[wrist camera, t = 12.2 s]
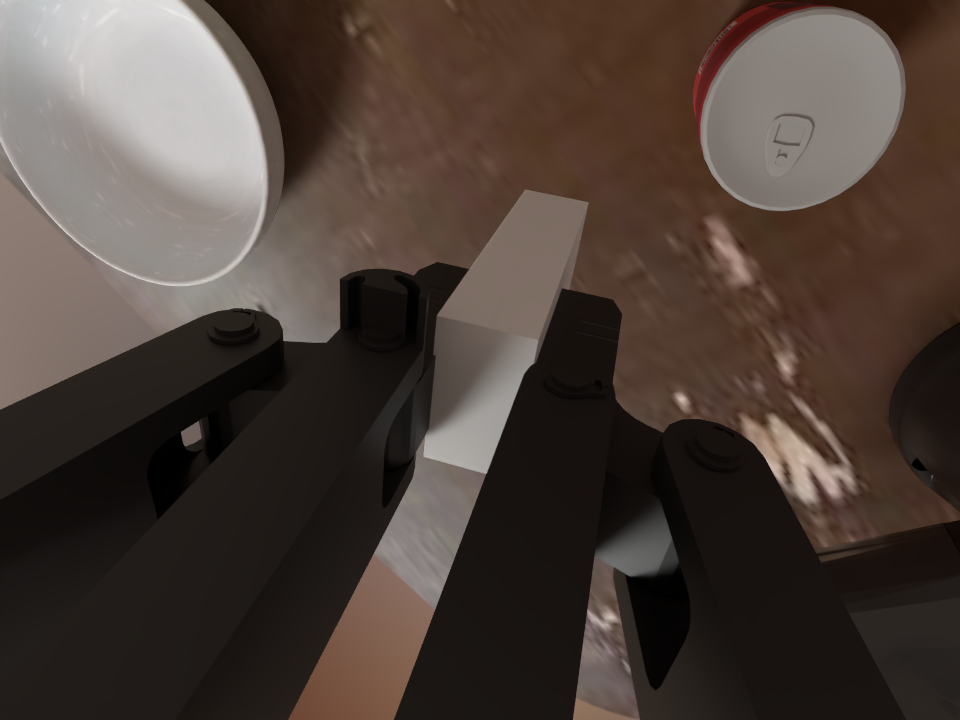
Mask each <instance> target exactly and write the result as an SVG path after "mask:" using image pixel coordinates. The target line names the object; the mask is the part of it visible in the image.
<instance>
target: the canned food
mask: <svg viewBox="0 0 960 720" xmlns="http://www.w3.org/2000/svg"><path fill="white" fill-rule="evenodd" d="M905 91H906V86H905V74H904V67H903V64H902V61H901V58H900V55H899V52H898V50H897V48H896V47H895V45H894V44H893V42H892V41H891V39H890V38H889V36H888V35H887V34H886V33H885V32H884V31H883V30H882V29H881V28H880V27H878V26H877V25H876V24H875V23H874V22H873V21H872V20H870V19H868V18H866V17H864V16H862V15H860V14H858V13H856V12H854V11H851V10H847V9H843V8H838V7H834V6H829V5H820V4H810V3H800V2H774V3H770V4H765V5H761V6H759V7H756V8H754V9H752V10H750V11H747V12H745V13H744V14H742V15H741V16H739V17H738V18H736V19H735V20H733V21H732V22H730V23H729V24H728V25H727V26H726V27H725V28H724V29H723V30H722V31H721V32H720V33H719V34H718V35H717V37H716V38H715V39H714V40H713V42H712V43H711V44H710V46H709V47H708V49H707V51H706V53H705V54H704V56H703V58H702V60H701V62H700V65H699V68H698V71H697V74H696V77H695V83H694V89H693V107H694V112H695V118H696V123H697V128H698V133H699V138H700V143H701V147H702V152H703V154H704V158H705V160H706V163H707V165H708V167H709V169H710V171H711V173H712V175H713V176H714V177H715V178H716V180H717V181H718V182H719V184H720V185H721V186H722V187H723V188H724V189H725V190H726V191H727V192H729V193H730V194H731V195H732V196H733V197H735V198H736V199H738V200H740V201H742V202H744V203H746V204H748V205H750V206H753V207H757V208H761V209H765V210H777V211H788V210H795V209H803V208H806V207H810V206H813V205H816V204H819V203H822V202H824V201H826V200H828V199H830V198H832V197H834V196H836V195H839V194H840V193H842V192H843V191H845V190H846V189H848V188H849V187H850V186H852V185H853V184H855V183H856V182H857V181H858V180H860V179H861V178H862V177H863V176H864V175H865V174H866V173H867V172H868V171H869V170H870V169H871V168H872V167H873V166H874V165H875V163H876V162H877V161H878V159H879V158H880V157H881V155H882V154H883V153H884V152H885V150H886V149H887V147H888V145H889V143H890V141H891V139H892V137H893V136H894V134H895V132H896V130H897V127H898V124H899V121H900V118H901V115H902V112H903V107H904V99H905Z"/></svg>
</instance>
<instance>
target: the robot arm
mask: <svg viewBox="0 0 960 720" xmlns="http://www.w3.org/2000/svg"><path fill="white" fill-rule="evenodd" d="M588 204H589V202H584V201H579V200H574V199H569V198H564V197H559V196H555V195H550V194H545V193H540V192H535V191H530V190H525V191H524V192H523V194H522V195H521V196H520V198H519V199H518V201H517V202H516V204H515V205H514V206H513V208H512V209H511V211H510V212H509V214H508V215H507V216H506V218H505V219H504V221H503V222H502V223H501V225H500V226H499V228H498V229H497V231H496V232H495V233H494V235H493V236H492V238H491V239H490V241H489V242H488V243H487V245H486V246H485V248H484V249H483V251H482V252H481V253H480V255H479V256H478V258H477V259H476V261H475V262H474V263H473V265H472V266H471V268H470V269H466V268H461V267H457V266H453V265H448V264H444V263H439V262H437V263H434V264H432V265H430V266H427V267H425V268H422V269H420V270H419V271H418V272H417V273H416V274H415V275H414V276H413V275H410V274H407V273H404V272H401V271H396V270H388V269H365V270H361V271H357V272H352V273H350V274H348V275H346V276H344V277H343V278H341V279H340V329H339V330H338V331H337V332H336V333H335V334H334V336H333V337H332V338H331V339H330V340H329V341H328V342H327V343H307V342H288V341H283V329H282V327H281V325H280V323H279V321H278V320H277V319H275V318H274V317H272V316H271V315H269V314H266V313H263V312H259V311H256V310H251V309H243V308H234V309H230V310H223V311H217V312H214V313H211V314H208V315H205V316H202V317H200V318H197V319H195V320H193V321H191V322H189V323H187V324H184V325H182V326H180V327H178V328H176V329H174V330H171V331H169V332H167V333H165V334H163V335H161V336H159V337H156V338H154V339H152V340H150V341H148V342H146V343H143V344H141V345H139V346H137V347H135V348H133V349H130V350H129V351H126V352H124V353H122V354H120V355H118V356H115V357H113V358H111V359H109V360H107V361H105V362H103V363H100V364H98V365H96V366H94V367H92V368H89V369H88V370H85V371H83V372H81V373H79V374H76V375H74V376H72V377H70V378H68V379H66V380H64V381H61V382H60V383H57V384H55V385H53V386H51V387H49V388H46V389H44V390H42V391H40V392H38V393H35V394H33V395H31V396H29V397H27V398H25V399H23V400H21V401H18V402H16V403H14V404H12V405H10V406H7V407H5V408H3V409H1V410H0V720H288V719H289V717H290V715H291V713H292V711H293V709H294V707H295V705H296V703H297V702H298V699H299V698H300V696H301V694H302V692H303V690H304V688H305V686H306V684H307V682H308V680H309V678H310V676H311V674H312V672H313V670H314V668H315V666H316V665H317V663H318V661H319V659H320V657H321V655H322V653H323V651H324V649H325V647H326V645H327V643H328V641H329V639H330V637H331V635H332V634H333V632H334V629H335V627H336V626H337V624H338V622H339V620H340V618H341V616H342V614H343V612H344V610H345V608H346V606H347V604H348V602H349V600H350V599H351V597H352V595H353V593H354V591H355V589H356V587H357V585H358V583H359V581H360V579H361V577H362V575H363V573H364V571H365V569H366V567H367V566H368V564H369V561H370V560H371V558H372V556H373V554H374V552H375V550H376V548H377V546H378V544H379V542H380V540H381V538H382V536H383V534H384V532H385V531H386V529H387V527H388V525H389V523H390V521H391V519H392V517H393V515H394V513H395V511H396V509H397V507H398V505H399V503H400V501H401V499H402V498H403V496H404V494H405V492H406V490H407V488H408V486H409V484H410V482H411V480H412V478H413V474H414V469H415V460H416V451H417V449H418V447H419V446H420V444H421V442H422V440H423V438H424V436H425V434H426V437H425V447H424V457H427V458H431V459H434V460H438V461H442V462H445V463H449V464H452V465H456V466H460V467H463V468H467V469H470V470H474V471H478V472H481V473H485V474H486V476H485V479H484V482H483V484H482V487H481V490H480V492H479V495H478V498H477V500H476V503H475V506H474V508H473V511H472V514H471V516H470V519H469V522H468V524H467V527H466V530H465V532H464V535H463V538H462V540H461V543H460V546H459V548H458V551H457V554H456V556H455V559H454V561H453V564H452V567H451V569H450V572H449V575H448V577H447V580H446V583H445V585H444V588H443V591H442V593H441V596H440V599H439V601H438V604H437V607H436V609H435V612H434V615H433V617H432V620H431V623H430V625H429V628H428V631H427V633H426V636H425V639H424V641H423V644H422V647H421V649H420V652H419V655H418V657H417V660H416V662H415V665H414V668H413V670H412V673H411V676H410V678H409V681H408V684H407V686H406V689H405V692H404V695H403V697H402V700H401V702H400V705H399V708H398V710H397V713H396V716H395V718H394V720H573V714H574V706H575V699H576V691H577V684H578V676H579V669H580V661H581V653H582V646H583V638H584V631H585V623H586V616H587V608H588V601H589V593H590V585H591V578H592V570H593V563H594V555H595V556H596V557H598V558H600V559H601V560H603V561H605V562H606V563H608V564H610V565H611V566H613V567H614V571H613V579H614V585H615V590H616V595H617V601H618V606H619V611H620V616H621V622H622V627H623V632H624V637H625V643H626V648H627V653H628V658H629V664H630V669H631V674H632V679H633V685H634V690H635V695H636V701H637V706H638V711H639V716H640V720H960V520H958V521H953V522H948V523H941V524H936V525H931V526H926V527H922V528H917V529H912V530H907V531H902V532H897V533H892V534H887V535H883V536H878V537H873V538H868V539H863V540H858V541H853V542H848V543H844V544H839V545H834V546H829V547H824V548H819V549H814V548H813V546H812V544H811V543H810V541H809V539H808V537H807V535H806V533H805V531H804V530H803V528H802V526H801V524H800V522H799V520H798V519H797V517H796V515H795V513H794V511H793V509H792V507H791V506H790V504H789V502H788V500H787V498H786V496H785V495H784V493H783V491H782V489H781V487H780V485H779V483H778V482H777V480H776V478H775V476H774V474H773V472H772V471H771V469H770V467H769V465H768V463H767V461H766V459H765V458H764V456H763V455H762V454H761V452H760V451H759V450H758V449H757V447H756V446H755V445H754V444H753V443H752V442H750V441H749V440H748V439H746V438H745V437H744V436H742V435H741V434H739V433H738V432H736V431H734V430H732V429H730V428H728V427H725V426H724V425H721V424H719V423H714V422H710V421H705V420H701V419H682V420H680V421H677V422H675V423H672V424H670V425H669V426H668V427H667V429H666V430H665V431H664V433H662V432H660V431H658V430H656V429H654V428H652V427H650V426H648V425H646V424H644V423H642V422H640V421H639V420H637V419H635V418H634V417H632V416H631V415H630V414H629V413H627V412H626V411H625V410H624V409H623V408H622V407H621V406H620V404H619V403H618V402H617V401H616V399H615V391H614V386H613V385H612V383H613V376H614V369H615V361H616V354H617V347H618V340H619V333H620V325H621V318H622V313H621V312H620V310H619V309H618V307H617V305H616V304H615V302H614V301H613V300H612V299H608V298H603V297H599V296H595V295H590V294H586V293H581V292H577V291H572V290H569V288H570V284H571V279H572V275H573V270H574V266H575V261H576V257H577V252H578V248H579V244H580V239H581V235H582V230H583V226H584V221H585V217H586V212H587V208H588ZM198 421H199V424H200V430H201V436H202V439H200V440H199V441H197V442H196V443H193V444H191V445H189V446H186V447H185V446H184V444H183V441H182V436H181V431H183V430H185V429H186V428H188V427H189V426H191V425H193V424H194V423H196V422H198ZM889 421H890V428H891V432H892V435H893V437H894V440H895V442H896V444H897V446H898V448H899V450H900V452H901V454H902V456H903V458H904V459H905V461H906V463H907V464H908V466H909V467H910V469H911V470H912V471H913V472H914V473H915V475H916V476H917V477H918V478H919V479H920V480H921V481H922V482H923V483H924V484H926V485H927V486H928V487H929V488H931V489H932V490H933V491H934V492H936V493H937V494H938V495H939V496H941V497H942V498H943V499H944V500H946V501H947V502H948V503H950V504H951V505H952V506H953V507H955V508H956V509H957V510H958V511H960V324H959V325H957V326H955V327H954V328H952V329H950V330H948V331H947V332H945V333H944V334H942V335H941V336H939V337H938V338H937V339H935V340H934V341H933V342H931V343H930V344H929V345H928V346H927V347H925V348H924V349H923V350H922V351H921V352H920V353H919V354H918V355H917V356H916V357H915V358H914V359H913V360H912V361H911V363H910V364H909V365H908V366H907V368H906V369H905V370H904V372H903V374H902V375H901V377H900V378H899V380H898V382H897V384H896V386H895V389H894V391H893V394H892V397H891V402H890V408H889Z"/></svg>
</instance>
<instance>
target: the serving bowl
mask: <svg viewBox="0 0 960 720" xmlns="http://www.w3.org/2000/svg"><path fill="white" fill-rule="evenodd" d="M0 142H1V144H2V146H3V148H4V150H5V152H6V154H7V156H8V158H9V160H10V161H11V163H12V165H13V167H14V168H15V170H16V171H17V173H18V175H19V176H20V178H21V179H22V181H23V183H24V184H25V185H26V187H27V188H28V190H29V191H30V192H31V194H32V195H33V196H34V198H35V199H36V200H37V201H38V203H39V204H40V205H41V206H42V207H43V209H44V210H45V211H46V212H47V214H48V215H49V216H50V217H51V218H52V219H53V220H54V221H55V222H56V223H57V224H58V225H59V226H60V227H61V228H62V229H63V230H64V231H65V232H66V233H67V234H68V235H69V236H70V237H71V238H73V239H74V240H75V241H76V242H77V243H78V244H79V245H81V246H82V247H83V248H85V249H86V250H87V251H89V252H90V253H91V254H93V255H94V256H96V257H97V258H99V259H100V260H102V261H103V262H105V263H107V264H109V265H110V266H112V267H114V268H116V269H118V270H120V271H122V272H124V273H126V274H129V275H131V276H133V277H136V278H139V279H142V280H145V281H148V282H152V283H157V284H161V285H168V286H191V285H198V284H202V283H206V282H209V281H212V280H215V279H217V278H219V277H221V276H223V275H225V274H227V273H228V272H230V271H231V270H233V269H234V268H235V267H237V266H238V265H239V264H240V263H241V262H242V261H243V260H244V259H245V258H246V257H247V256H248V255H249V254H250V253H251V252H252V251H253V250H254V249H255V247H256V246H257V245H258V244H259V243H260V241H261V240H262V238H263V237H264V235H265V234H266V232H267V230H268V229H269V227H270V225H271V223H272V221H273V218H274V216H275V214H276V211H277V208H278V205H279V201H280V197H281V193H282V188H283V179H284V147H283V139H282V132H281V127H280V123H279V119H278V115H277V112H276V108H275V105H274V102H273V99H272V96H271V94H270V91H269V89H268V87H267V84H266V82H265V80H264V78H263V76H262V74H261V72H260V70H259V68H258V66H257V65H256V63H255V61H254V59H253V58H252V56H251V55H250V53H249V52H248V50H247V49H246V47H245V46H244V44H243V43H242V41H241V40H240V39H239V37H238V36H237V35H236V33H235V32H234V31H233V30H232V29H231V27H230V26H229V25H228V24H227V22H226V21H225V20H224V19H223V18H222V17H221V16H220V15H219V14H218V13H217V12H216V11H215V10H214V9H213V8H212V7H211V6H210V5H209V4H208V3H207V2H206V1H204V0H0Z"/></svg>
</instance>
